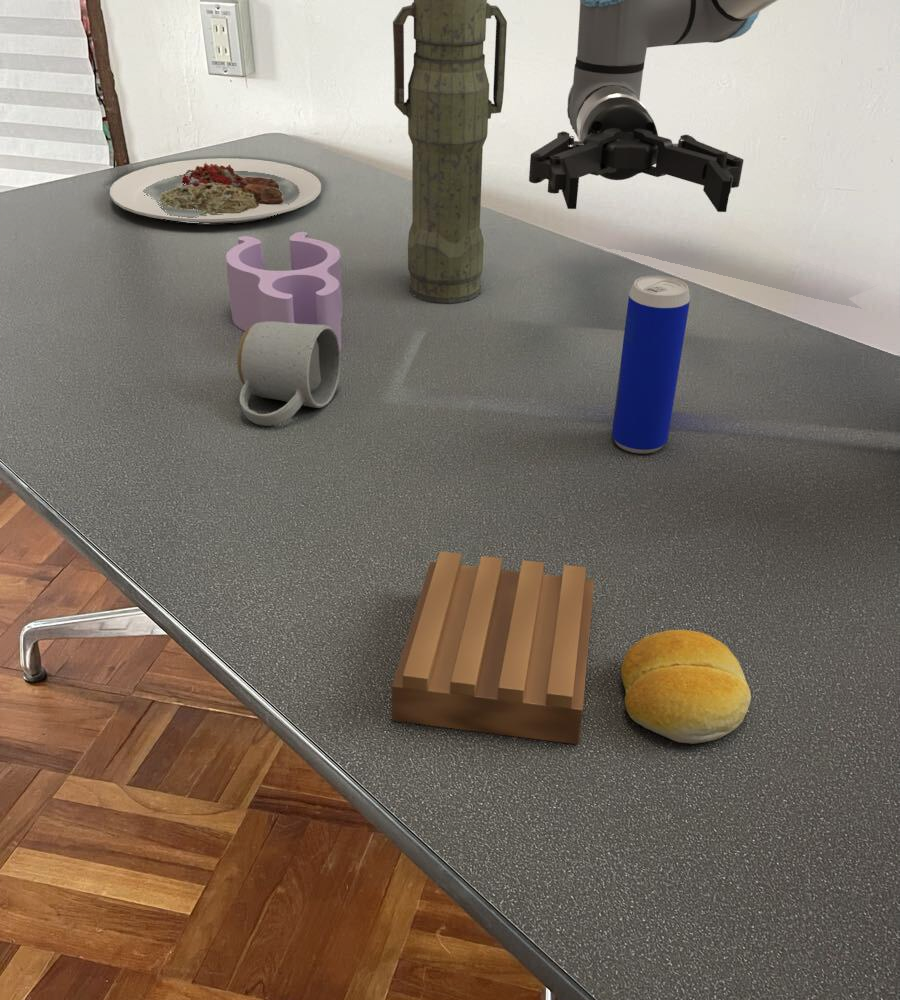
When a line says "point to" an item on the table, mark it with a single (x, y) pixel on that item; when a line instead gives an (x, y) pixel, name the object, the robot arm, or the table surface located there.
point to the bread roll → (684, 686)
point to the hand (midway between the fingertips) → (649, 195)
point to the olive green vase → (447, 140)
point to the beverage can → (650, 363)
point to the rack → (497, 650)
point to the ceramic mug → (288, 367)
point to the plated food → (215, 190)
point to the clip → (286, 285)
